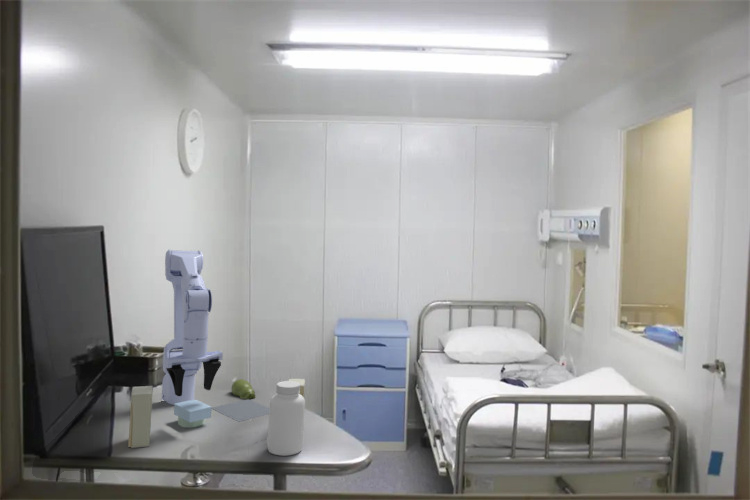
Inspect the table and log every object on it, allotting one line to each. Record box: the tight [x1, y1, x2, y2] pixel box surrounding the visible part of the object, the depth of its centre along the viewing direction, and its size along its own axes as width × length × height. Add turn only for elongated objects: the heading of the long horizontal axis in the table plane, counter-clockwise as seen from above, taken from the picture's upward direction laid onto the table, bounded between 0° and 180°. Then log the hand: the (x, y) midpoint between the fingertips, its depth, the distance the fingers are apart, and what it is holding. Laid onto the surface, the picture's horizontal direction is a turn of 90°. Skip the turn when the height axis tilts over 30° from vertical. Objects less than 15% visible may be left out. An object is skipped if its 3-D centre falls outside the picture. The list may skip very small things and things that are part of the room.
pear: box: [230, 379, 256, 400], centre depth 146 cm, size 6×5×10 cm
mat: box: [211, 399, 270, 423], centre depth 132 cm, size 14×12×1 cm
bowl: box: [177, 416, 207, 428], centre depth 121 cm, size 6×6×3 cm
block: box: [173, 398, 212, 423], centre depth 121 cm, size 8×6×3 cm
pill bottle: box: [267, 380, 306, 457], centre depth 111 cm, size 8×8×15 cm
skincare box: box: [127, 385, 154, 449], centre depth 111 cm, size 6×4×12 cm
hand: (193, 392), depth 121 cm, fingers open, 7 cm apart
